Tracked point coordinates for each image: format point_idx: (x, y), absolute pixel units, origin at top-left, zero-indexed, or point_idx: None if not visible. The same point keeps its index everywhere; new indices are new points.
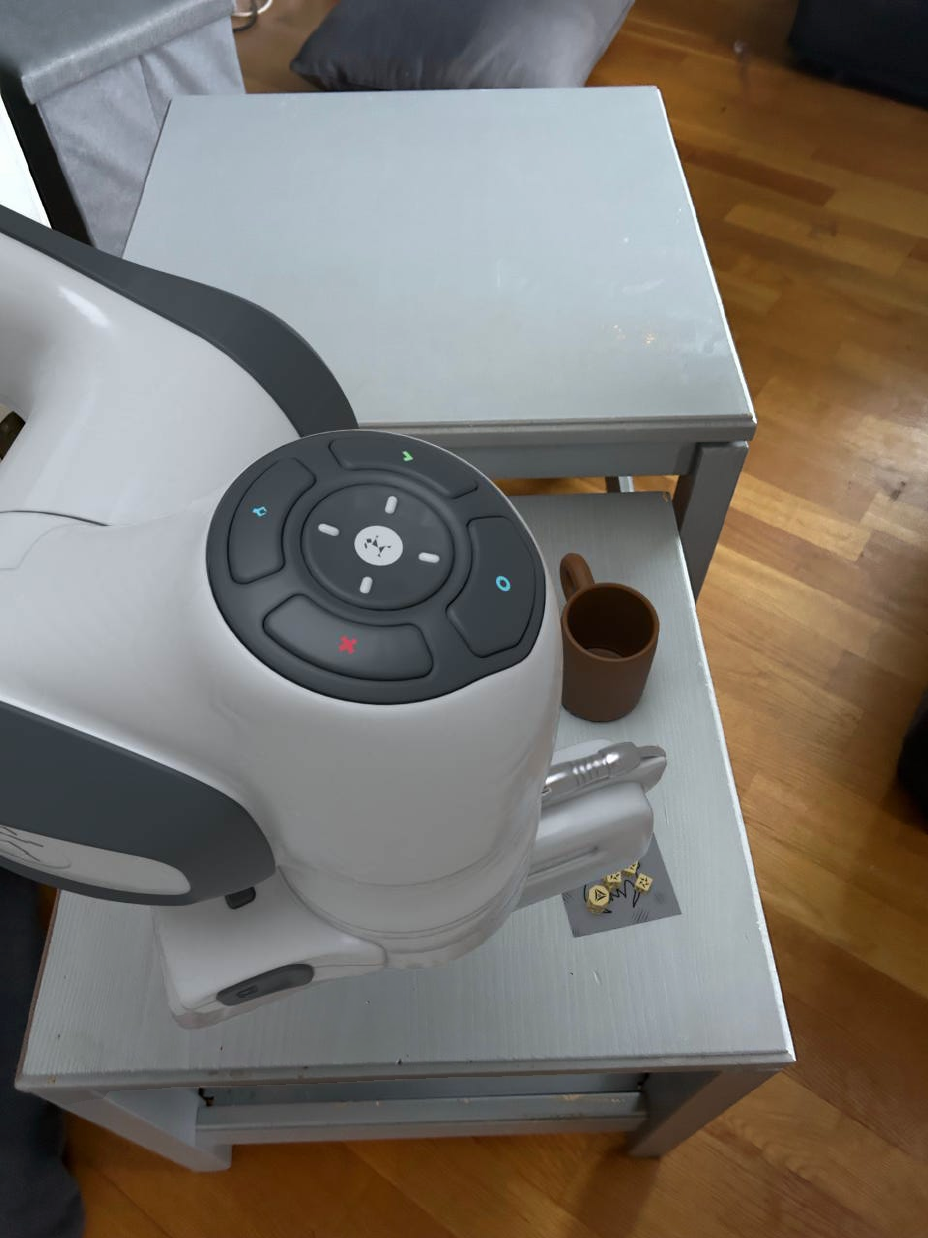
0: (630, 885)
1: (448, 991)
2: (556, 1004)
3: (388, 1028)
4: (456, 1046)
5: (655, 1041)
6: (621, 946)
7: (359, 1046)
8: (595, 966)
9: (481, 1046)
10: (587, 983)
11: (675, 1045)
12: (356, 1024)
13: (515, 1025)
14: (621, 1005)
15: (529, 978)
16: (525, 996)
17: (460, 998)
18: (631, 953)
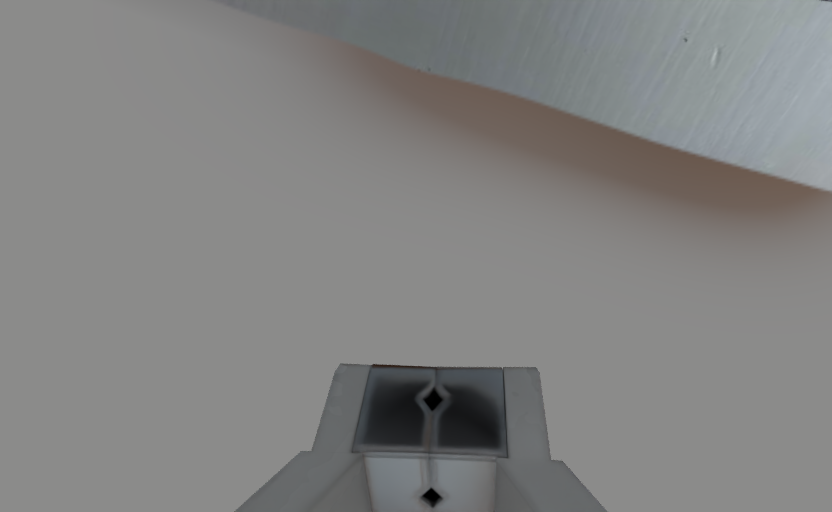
0: None
1: (508, 5)
2: (641, 73)
3: (413, 27)
4: (492, 79)
5: (732, 156)
6: (778, 26)
7: (371, 37)
8: (723, 42)
9: (523, 90)
10: (697, 61)
11: (751, 168)
12: (372, 7)
13: (576, 80)
14: (721, 103)
15: (625, 26)
16: (607, 48)
17: (520, 21)
18: (784, 41)
